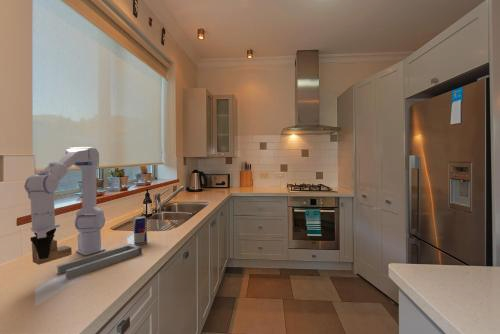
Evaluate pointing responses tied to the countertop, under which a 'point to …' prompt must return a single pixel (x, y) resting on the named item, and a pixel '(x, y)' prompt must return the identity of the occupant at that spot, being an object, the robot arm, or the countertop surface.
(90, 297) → the countertop surface
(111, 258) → the channel
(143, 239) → the energy drink
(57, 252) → the block
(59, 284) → the countertop surface
